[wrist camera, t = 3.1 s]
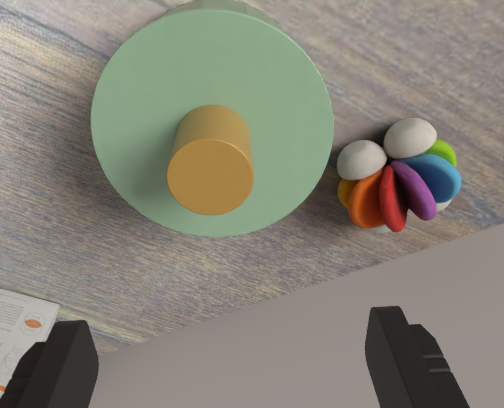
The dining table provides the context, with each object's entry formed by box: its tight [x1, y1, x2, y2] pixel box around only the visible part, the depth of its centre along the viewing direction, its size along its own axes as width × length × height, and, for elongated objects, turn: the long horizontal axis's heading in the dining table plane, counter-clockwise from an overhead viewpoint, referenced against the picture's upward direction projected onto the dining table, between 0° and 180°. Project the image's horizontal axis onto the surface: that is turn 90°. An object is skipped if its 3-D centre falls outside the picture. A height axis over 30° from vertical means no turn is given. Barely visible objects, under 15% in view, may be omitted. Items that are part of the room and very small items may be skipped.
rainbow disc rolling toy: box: [337, 118, 461, 234], centre depth 35 cm, size 8×10×7 cm
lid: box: [90, 8, 334, 237], centre depth 25 cm, size 14×14×6 cm
